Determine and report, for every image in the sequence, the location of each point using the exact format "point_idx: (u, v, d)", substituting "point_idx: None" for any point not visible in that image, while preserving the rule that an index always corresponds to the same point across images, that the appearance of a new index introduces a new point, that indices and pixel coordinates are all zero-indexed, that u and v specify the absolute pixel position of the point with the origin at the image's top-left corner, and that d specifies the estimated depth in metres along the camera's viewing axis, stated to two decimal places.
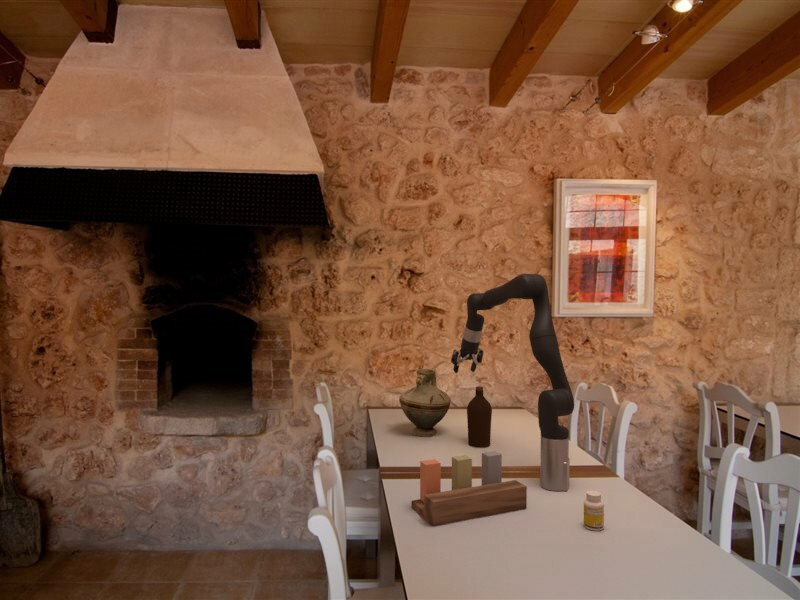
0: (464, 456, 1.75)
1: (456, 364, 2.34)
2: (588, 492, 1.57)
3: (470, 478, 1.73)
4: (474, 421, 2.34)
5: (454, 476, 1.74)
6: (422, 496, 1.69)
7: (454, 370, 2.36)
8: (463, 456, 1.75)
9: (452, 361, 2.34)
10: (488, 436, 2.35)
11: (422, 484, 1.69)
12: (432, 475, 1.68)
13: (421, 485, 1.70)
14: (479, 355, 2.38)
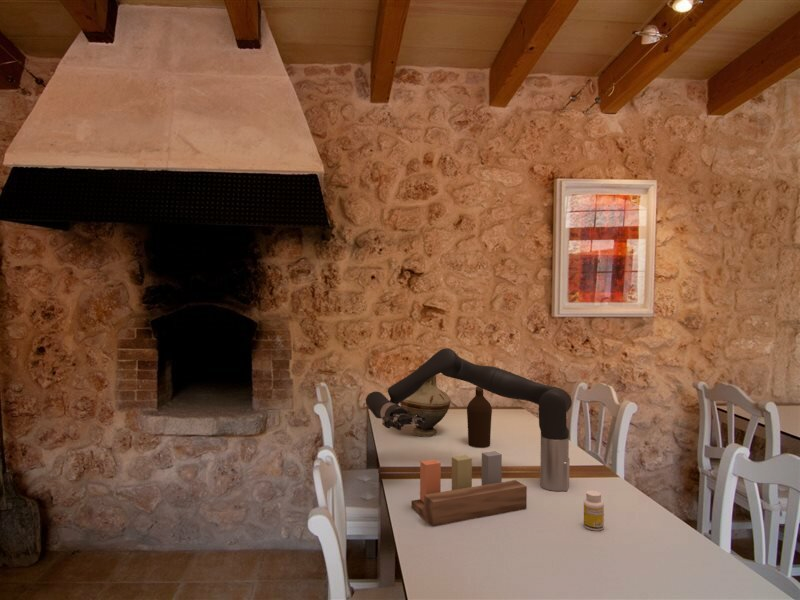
0: (464, 456, 1.75)
1: (392, 421, 1.84)
2: (588, 492, 1.57)
3: (470, 478, 1.73)
4: (474, 421, 2.34)
5: (454, 476, 1.74)
6: (422, 496, 1.69)
7: (396, 425, 1.81)
8: (463, 456, 1.75)
9: (386, 424, 1.84)
10: (488, 436, 2.35)
11: (422, 484, 1.69)
12: (432, 475, 1.68)
13: (421, 485, 1.70)
14: (418, 417, 1.91)
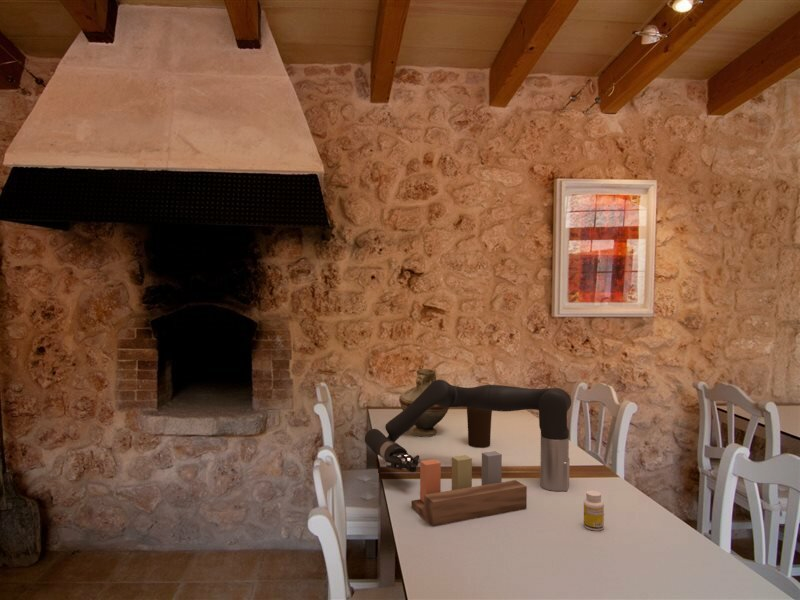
0: (464, 456, 1.75)
1: (404, 463, 1.84)
2: (588, 492, 1.57)
3: (470, 478, 1.73)
4: (474, 421, 2.34)
5: (454, 476, 1.74)
6: (422, 496, 1.69)
7: (408, 467, 1.82)
8: (463, 456, 1.75)
9: (398, 465, 1.85)
10: (488, 436, 2.35)
11: (422, 484, 1.69)
12: (432, 475, 1.68)
13: (421, 485, 1.70)
14: None
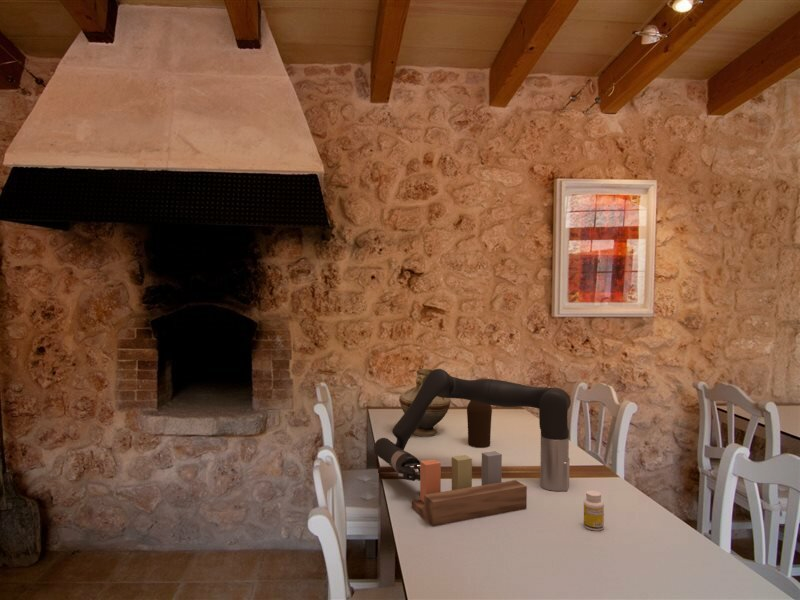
0: (464, 456, 1.75)
1: (417, 474, 1.75)
2: (588, 492, 1.57)
3: (470, 478, 1.73)
4: (474, 421, 2.34)
5: (454, 476, 1.74)
6: (422, 496, 1.69)
7: None
8: (463, 456, 1.75)
9: (411, 476, 1.76)
10: (488, 436, 2.35)
11: (422, 484, 1.69)
12: (432, 476, 1.68)
13: (421, 485, 1.70)
14: None
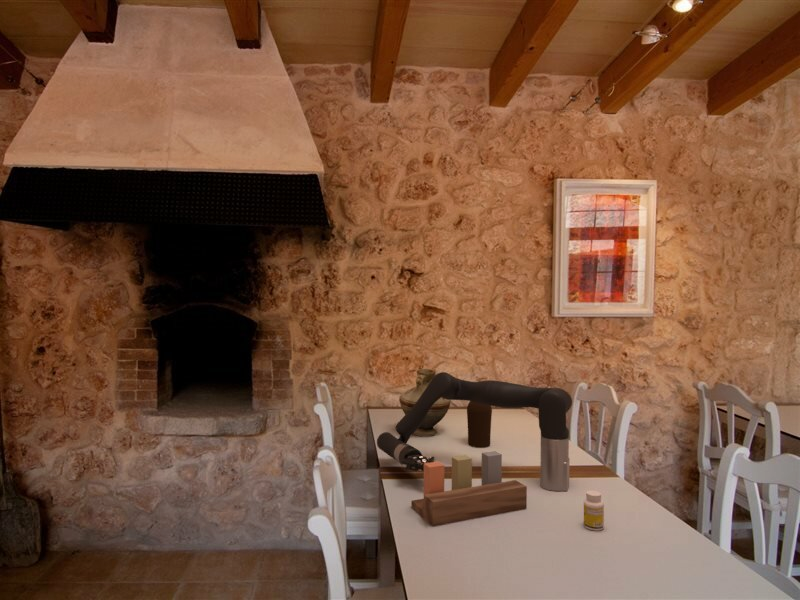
0: (464, 456, 1.75)
1: (420, 464, 1.86)
2: (588, 492, 1.57)
3: (470, 478, 1.73)
4: (474, 421, 2.34)
5: (454, 476, 1.74)
6: None
7: None
8: (463, 456, 1.75)
9: (414, 466, 1.86)
10: (488, 436, 2.35)
11: (426, 487, 1.67)
12: (436, 478, 1.66)
13: (424, 488, 1.68)
14: None
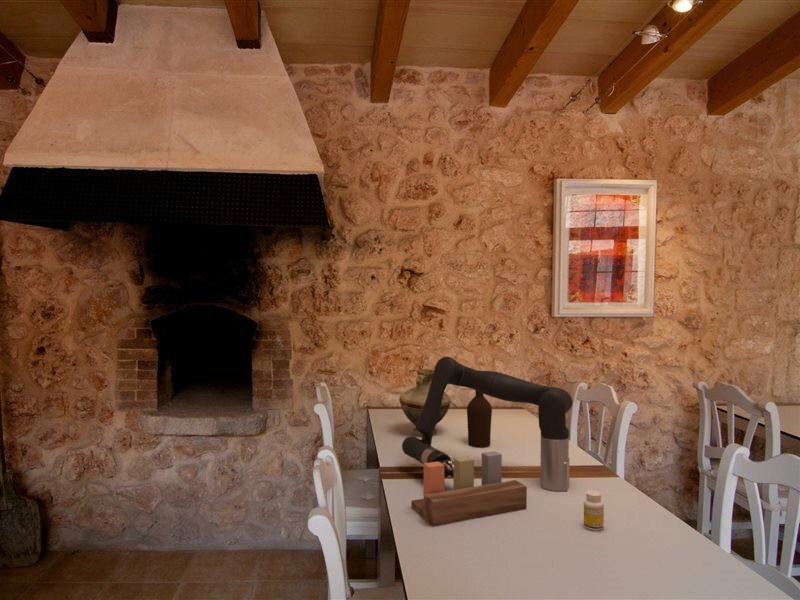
0: (465, 457, 1.74)
1: (450, 470, 1.78)
2: (588, 492, 1.57)
3: (472, 479, 1.72)
4: (474, 421, 2.34)
5: (455, 477, 1.73)
6: None
7: None
8: (465, 457, 1.74)
9: None
10: (488, 436, 2.35)
11: (426, 487, 1.67)
12: (436, 478, 1.66)
13: (424, 488, 1.68)
14: None
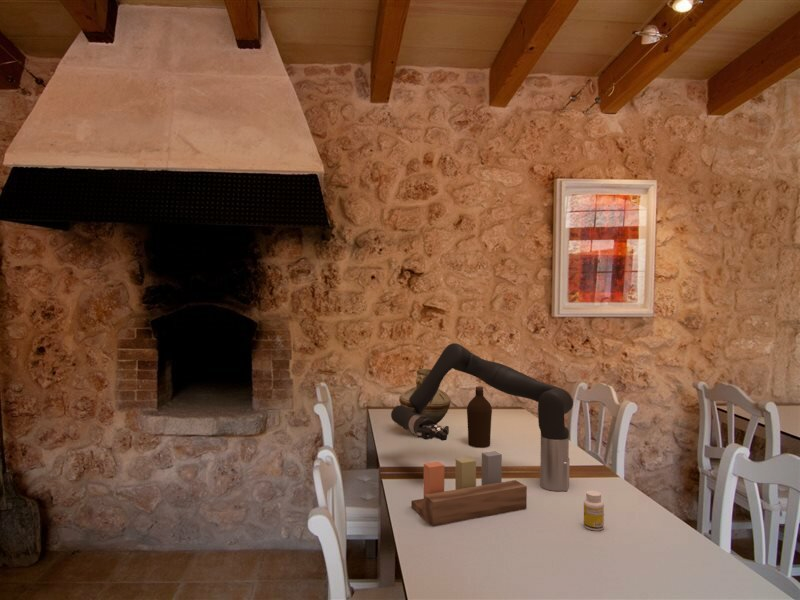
0: (467, 458, 1.73)
1: (435, 432, 1.88)
2: (588, 492, 1.57)
3: (474, 481, 1.71)
4: (474, 421, 2.34)
5: (457, 479, 1.71)
6: None
7: (439, 436, 1.85)
8: (467, 458, 1.73)
9: (429, 434, 1.89)
10: (488, 436, 2.35)
11: (426, 487, 1.67)
12: (436, 478, 1.66)
13: (424, 488, 1.68)
14: None
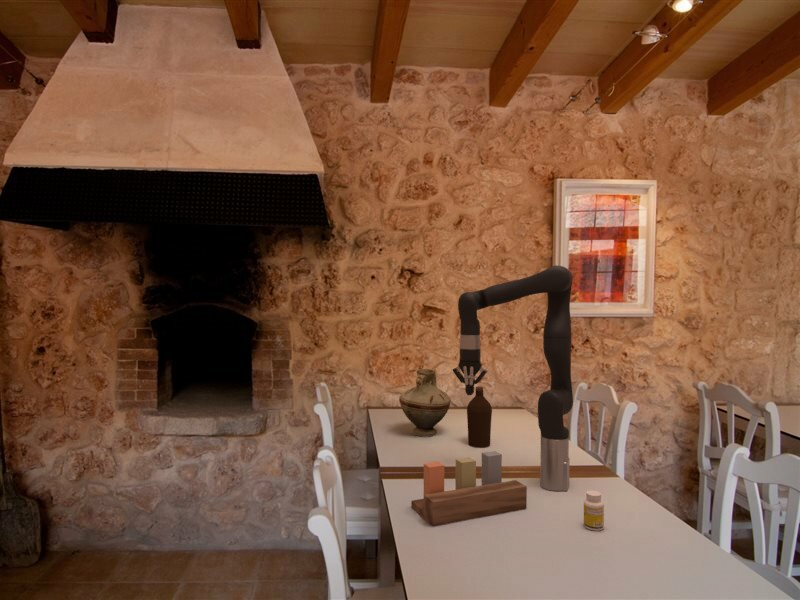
0: (467, 458, 1.73)
1: (465, 383, 2.00)
2: (588, 492, 1.57)
3: (474, 481, 1.71)
4: (474, 421, 2.34)
5: (457, 479, 1.71)
6: None
7: (465, 391, 2.00)
8: (467, 458, 1.73)
9: None
10: (488, 436, 2.35)
11: (426, 487, 1.67)
12: (436, 478, 1.66)
13: (424, 488, 1.68)
14: (479, 375, 1.98)
